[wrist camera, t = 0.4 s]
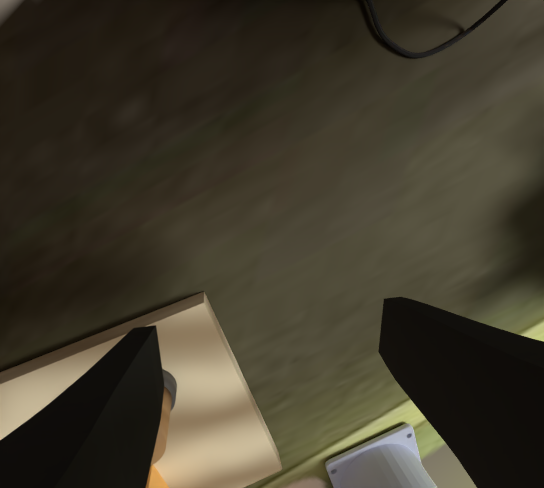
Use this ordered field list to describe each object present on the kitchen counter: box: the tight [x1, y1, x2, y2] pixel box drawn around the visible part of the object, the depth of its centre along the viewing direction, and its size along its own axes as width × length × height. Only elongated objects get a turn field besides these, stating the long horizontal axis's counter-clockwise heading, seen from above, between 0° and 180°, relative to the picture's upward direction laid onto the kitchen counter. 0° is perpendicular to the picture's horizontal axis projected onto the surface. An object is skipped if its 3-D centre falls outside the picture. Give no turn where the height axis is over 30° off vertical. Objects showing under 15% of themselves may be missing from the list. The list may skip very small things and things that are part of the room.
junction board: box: [0, 292, 282, 488], centre depth 18 cm, size 15×15×6 cm
